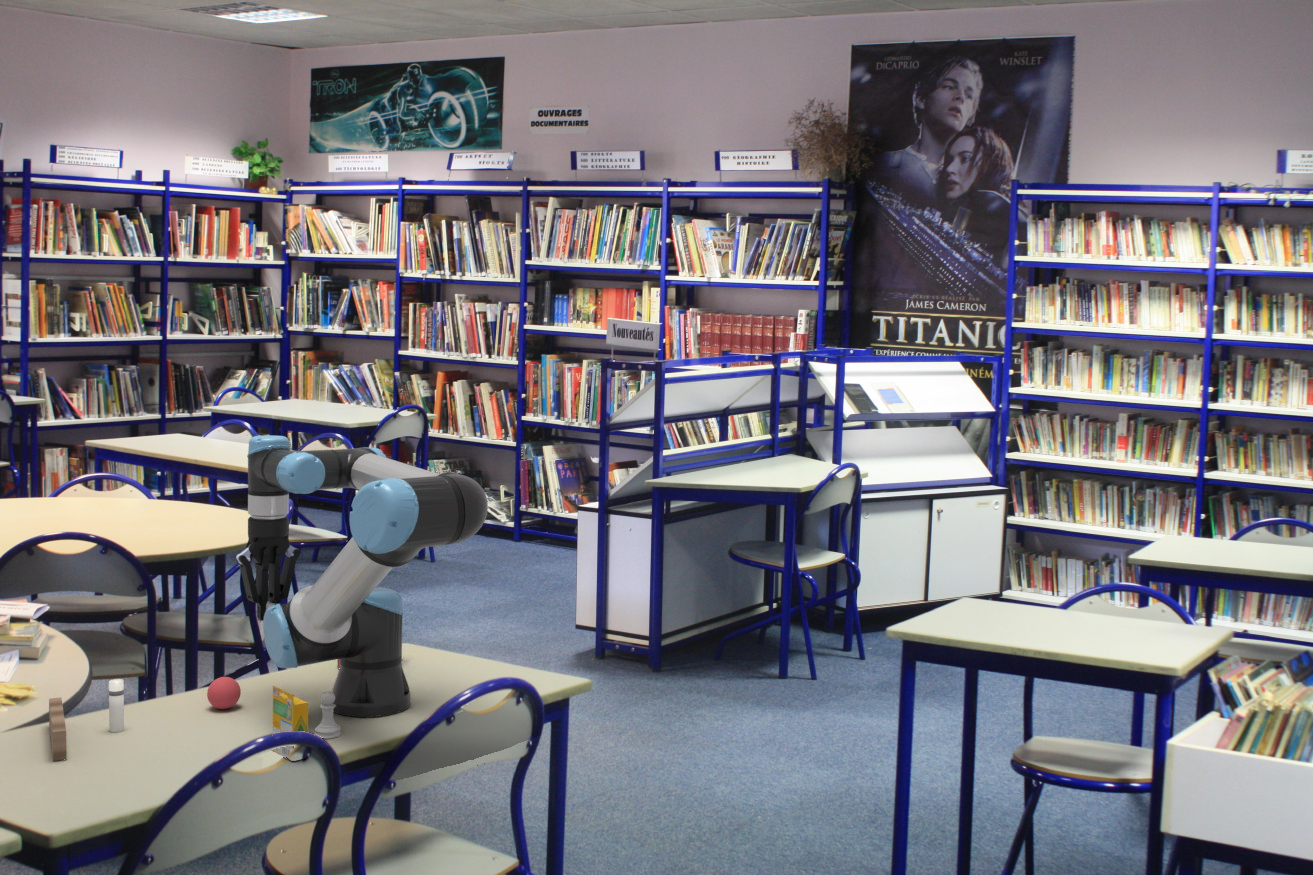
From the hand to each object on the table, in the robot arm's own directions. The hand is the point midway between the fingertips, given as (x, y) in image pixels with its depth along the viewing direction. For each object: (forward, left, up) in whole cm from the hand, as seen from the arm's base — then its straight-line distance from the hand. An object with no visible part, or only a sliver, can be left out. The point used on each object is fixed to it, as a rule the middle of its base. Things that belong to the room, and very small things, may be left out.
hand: (267, 635), depth 238 cm
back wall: (0, +39, -13) cm, 41 cm away
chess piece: (-26, +2, -13) cm, 29 cm away
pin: (0, +29, -13) cm, 32 cm away
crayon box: (-31, +12, -13) cm, 36 cm away
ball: (0, +9, -10) cm, 13 cm away
